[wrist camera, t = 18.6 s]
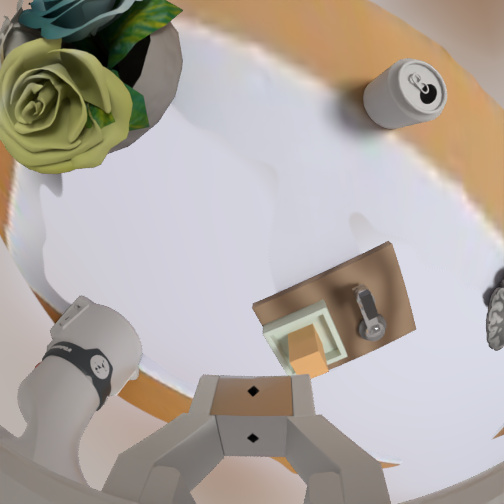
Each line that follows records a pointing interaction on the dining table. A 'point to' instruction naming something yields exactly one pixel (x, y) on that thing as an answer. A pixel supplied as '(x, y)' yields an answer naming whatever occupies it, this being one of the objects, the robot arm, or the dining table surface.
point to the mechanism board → (351, 300)
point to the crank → (368, 313)
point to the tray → (311, 314)
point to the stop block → (307, 352)
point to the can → (405, 94)
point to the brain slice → (496, 319)
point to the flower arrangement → (84, 78)
